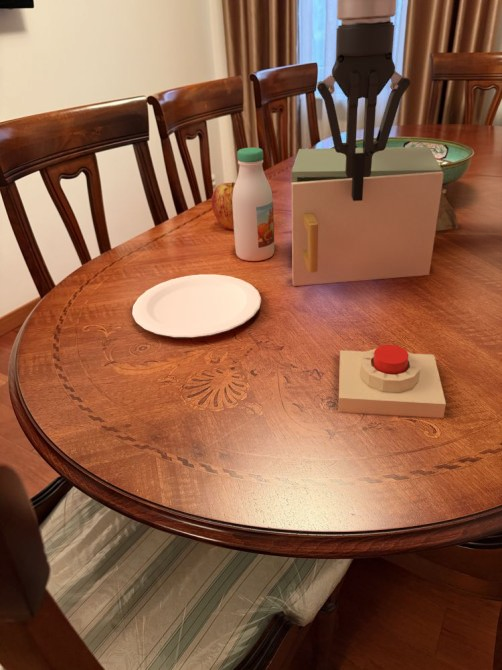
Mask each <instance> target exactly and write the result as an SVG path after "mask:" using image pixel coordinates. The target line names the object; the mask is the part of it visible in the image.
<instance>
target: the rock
mask: <svg viewBox="0 0 502 670" xmlns="http://www.w3.org/2000/svg"><path fill="white" fill-rule="evenodd" d="M458 229H459V223H458V220H457V215H456V212H455V209H454V208H453V207H452V206H451V205H450V203H449V201H448V199H447V197H446V196H445V193H444V192H443V191H441V196H440V203H439V210H438V217H437V224H436V231H435V236H437V235H443V234H445V233H446V230H458Z"/></svg>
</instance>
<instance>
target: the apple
mask: <svg viewBox="0 0 502 670" xmlns="http://www.w3.org/2000/svg"><path fill="white" fill-rule="evenodd" d="M235 183H236V181H235V182H234V181H232V182H224V183H220V184H218V185H217V186H216V187H215V188H214V190H213V192H212V195H211V208H212V211H213V214H214V216H215V218H216V220H217V222H218V223H219V224H220V226H222V227H223V228H224V229H226V230H227V229H228V230H231V231H234V222H233V203H232V197H233V189H234V186H235Z"/></svg>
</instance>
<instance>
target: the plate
mask: <svg viewBox="0 0 502 670" xmlns="http://www.w3.org/2000/svg"><path fill="white" fill-rule="evenodd" d="M261 303H262V298H261V295H260V292H259V290H258V289H257V288H256V287H255V286H253V284H251V283H249V282H247V281H246V280H243V279H241V278H237V277H234V276H231V275H223V274H217V273H216V274H215V273H214V274H212V273H210V274H209V273H207V274H206V273H199V274H191V275H185V276H180V277H176V278H172V279H168V280H166V281H163V282H160V283H158V284H156V285H154V286H152V287H151V288H149V289H146V291H145V292H143V293H142V294H141V295H140V296H138V297H137V298H136V300H135V302H134V304H133V306H132V312H131V313H132V314H131V315H132V317H133V320H134V321H135V323H136V324H137V325H138V326H139V327H140V328H142V329H143V330H144V331H146V332H149V333H152V334H154V335H157V336H159V337H166V338H172V339H199V338H200V339H201V338H207V337H213V336H217V335H220V334H224V333H228V332H230V331H232V330H235V329H237V328H239V327H241V326H243V325H244V324H245V323H247V322H248V321H250V320H251V319H252V318H254V317H255V315H256V314H257V313H258V312H259V310H260V308H261Z"/></svg>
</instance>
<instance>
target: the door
mask: <svg viewBox="0 0 502 670" xmlns="http://www.w3.org/2000/svg"><path fill="white" fill-rule="evenodd" d="M444 174H445V173H444V172H443V171H442V172H428V173H415V174H401V175H388V176H374V177H364V180H363V198H362V201H353V199H352V196H351V195H352V178H347V179H334V180H320V181H307V182H293V183H292V182H290V183H291V262H292V263H291V268H292V269H291V271H292V274H291V275H292V277H291V278H292V281H291V283H292V286H293V287H298V286H311V285H312V286H313V285H322V284H323V285H324V284H336V283H337V284H338V283H348V282H361V281H373V280H385V279H396V278H411V277H421V276H429V275H430V273H431V272H430V271H431V265H432V258H433V251H434V243H435V237H436V235H435V231H436V224H437V217H438V210H439V203H440V196H441V192H442V188H443V182H444ZM436 232H437V231H436Z"/></svg>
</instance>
